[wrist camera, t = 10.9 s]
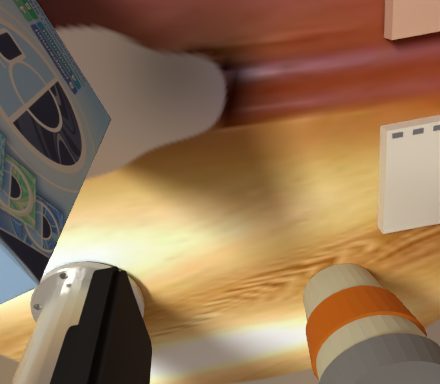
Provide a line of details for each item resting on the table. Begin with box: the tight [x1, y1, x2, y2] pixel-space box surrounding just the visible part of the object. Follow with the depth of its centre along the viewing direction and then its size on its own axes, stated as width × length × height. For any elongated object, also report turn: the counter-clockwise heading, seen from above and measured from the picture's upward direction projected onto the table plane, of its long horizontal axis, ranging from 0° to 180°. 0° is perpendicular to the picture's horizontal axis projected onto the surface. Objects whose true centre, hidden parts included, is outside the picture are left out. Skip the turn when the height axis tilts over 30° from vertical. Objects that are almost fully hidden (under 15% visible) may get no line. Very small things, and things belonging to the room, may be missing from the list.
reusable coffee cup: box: [303, 263, 440, 384], centre depth 43 cm, size 12×13×15 cm
